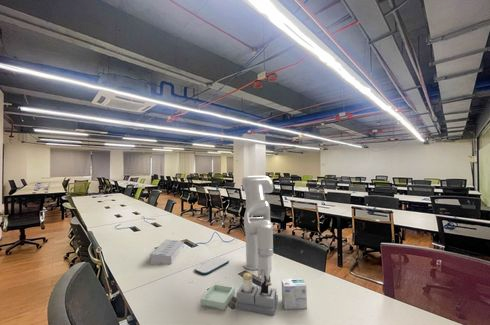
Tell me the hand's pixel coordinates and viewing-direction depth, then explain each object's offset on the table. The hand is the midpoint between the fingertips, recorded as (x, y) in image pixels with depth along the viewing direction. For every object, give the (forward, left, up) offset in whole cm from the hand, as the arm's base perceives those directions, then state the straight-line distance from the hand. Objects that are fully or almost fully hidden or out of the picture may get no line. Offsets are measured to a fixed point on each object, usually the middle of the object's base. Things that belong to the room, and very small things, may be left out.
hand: (265, 289), depth 101 cm
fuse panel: (0, -5, -7) cm, 9 cm away
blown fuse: (0, 0, -5) cm, 5 cm away
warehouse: (-38, -83, -8) cm, 92 cm away
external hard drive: (-30, -43, -8) cm, 53 cm away
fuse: (0, -9, -5) cm, 10 cm away
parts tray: (+2, -24, -7) cm, 25 cm away
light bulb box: (-4, +12, -8) cm, 15 cm away
